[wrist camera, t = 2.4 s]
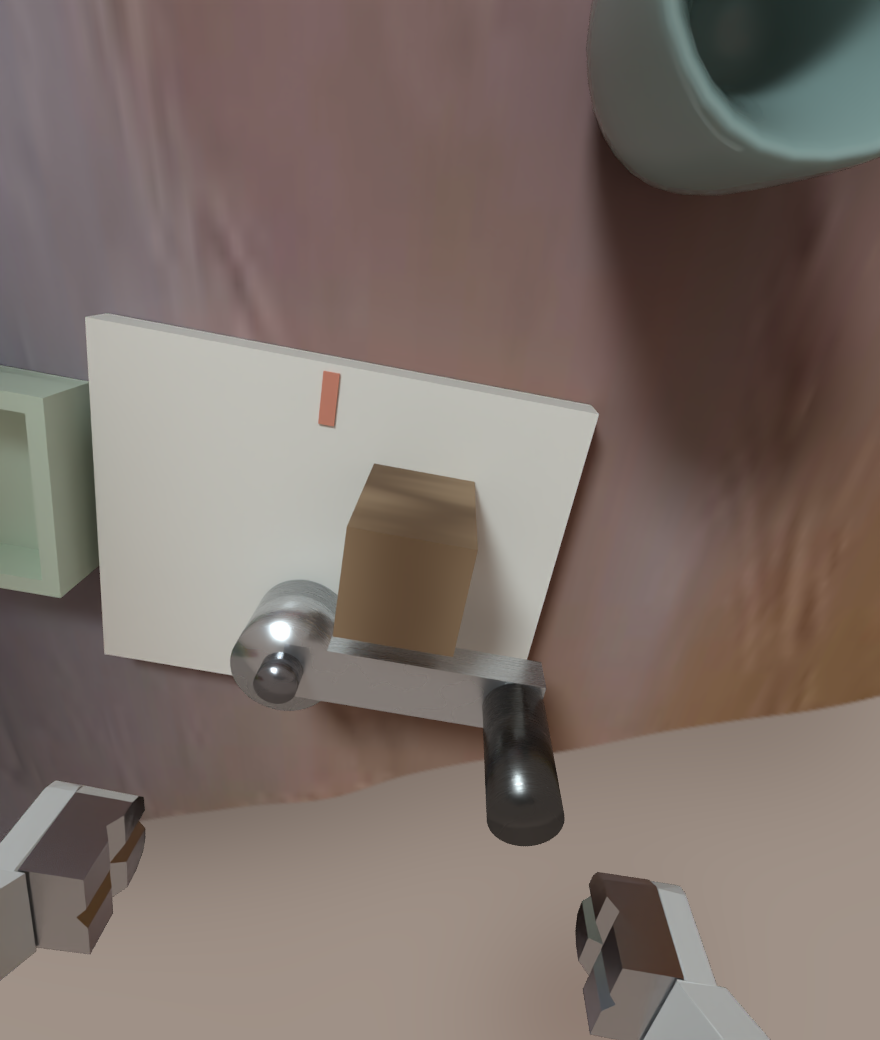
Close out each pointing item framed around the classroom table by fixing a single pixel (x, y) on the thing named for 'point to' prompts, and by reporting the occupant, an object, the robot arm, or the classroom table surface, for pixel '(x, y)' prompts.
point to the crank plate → (300, 481)
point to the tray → (46, 483)
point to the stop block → (408, 561)
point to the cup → (735, 89)
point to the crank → (410, 697)
